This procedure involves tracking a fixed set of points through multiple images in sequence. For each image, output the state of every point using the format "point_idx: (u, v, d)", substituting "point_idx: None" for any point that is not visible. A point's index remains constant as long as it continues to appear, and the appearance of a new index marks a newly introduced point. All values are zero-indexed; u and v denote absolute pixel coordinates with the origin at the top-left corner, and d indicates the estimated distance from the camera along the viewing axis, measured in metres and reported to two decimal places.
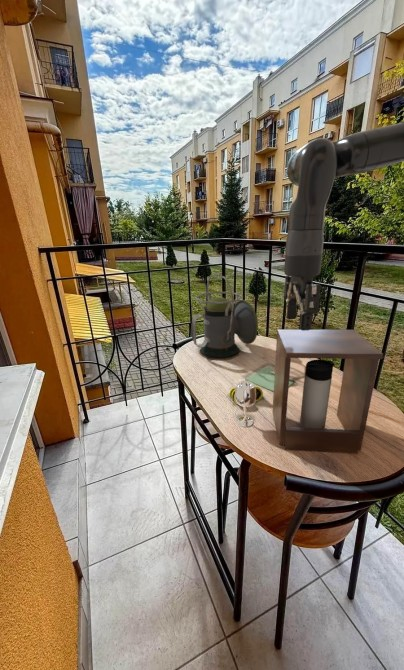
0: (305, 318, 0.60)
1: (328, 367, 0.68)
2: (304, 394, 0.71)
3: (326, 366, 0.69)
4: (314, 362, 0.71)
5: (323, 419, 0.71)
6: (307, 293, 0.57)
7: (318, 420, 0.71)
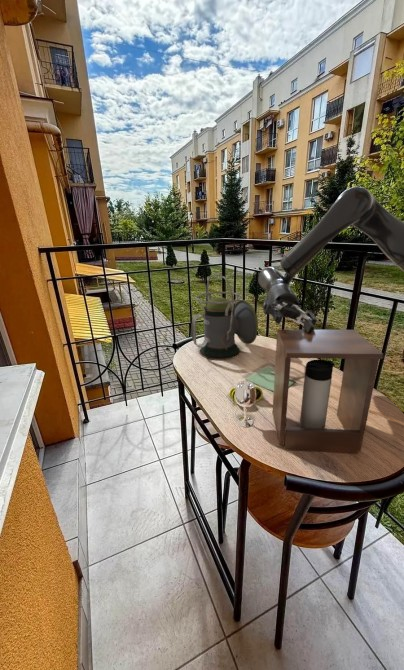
0: (273, 316, 0.72)
1: (328, 367, 0.68)
2: (304, 394, 0.71)
3: (326, 366, 0.69)
4: (314, 362, 0.71)
5: (323, 419, 0.71)
6: None
7: (318, 420, 0.71)
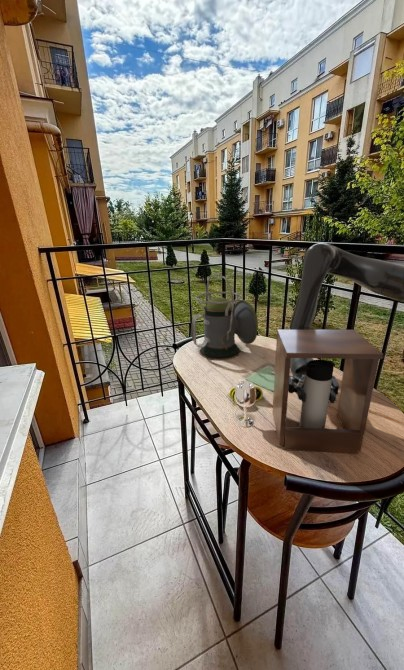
0: (297, 394, 0.73)
1: (329, 367, 0.68)
2: None
3: (327, 366, 0.68)
4: (315, 362, 0.71)
5: (324, 419, 0.71)
6: None
7: (318, 420, 0.71)
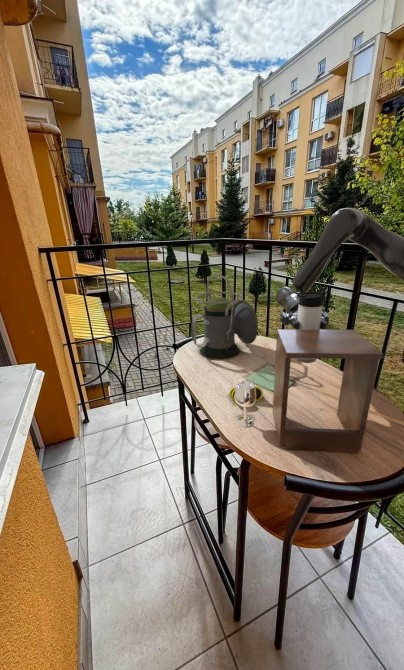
0: (292, 324, 0.81)
1: (319, 296, 0.76)
2: None
3: (317, 295, 0.76)
4: (307, 294, 0.79)
5: None
6: None
7: None
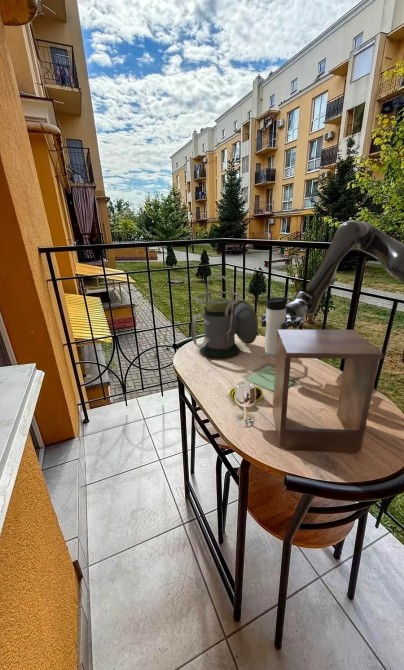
0: None
1: None
2: None
3: (281, 301, 0.90)
4: (277, 298, 0.93)
5: None
6: None
7: (272, 342, 0.94)
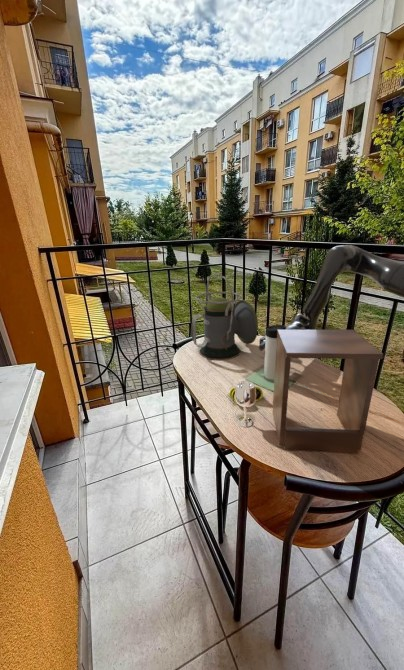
0: None
1: (280, 329, 0.93)
2: None
3: (279, 329, 0.94)
4: (276, 326, 0.97)
5: None
6: None
7: (271, 368, 0.97)
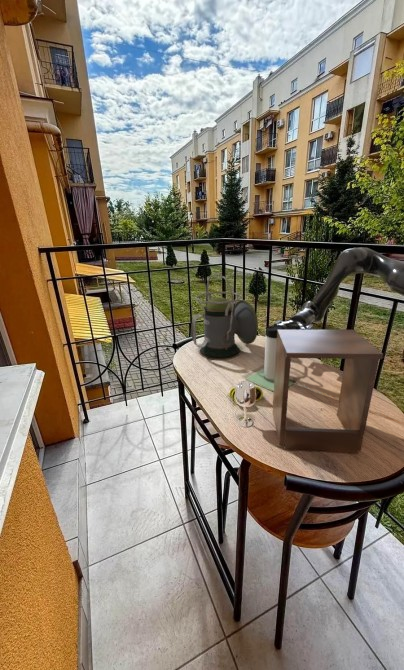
0: None
1: (280, 329, 0.93)
2: None
3: (279, 329, 0.94)
4: (276, 326, 0.97)
5: None
6: None
7: (271, 368, 0.97)
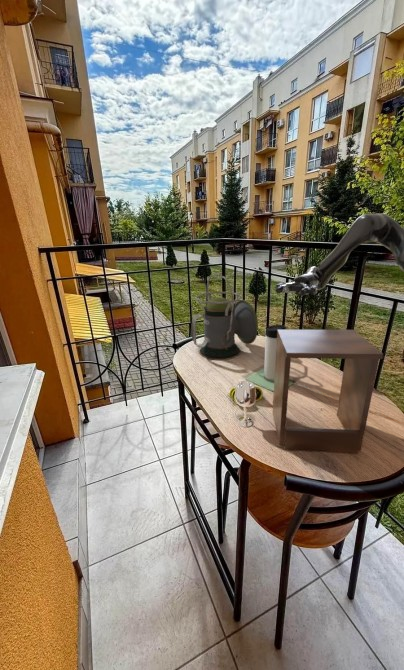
0: None
1: (280, 329, 0.93)
2: None
3: (279, 329, 0.94)
4: (276, 326, 0.97)
5: None
6: None
7: (271, 368, 0.97)
